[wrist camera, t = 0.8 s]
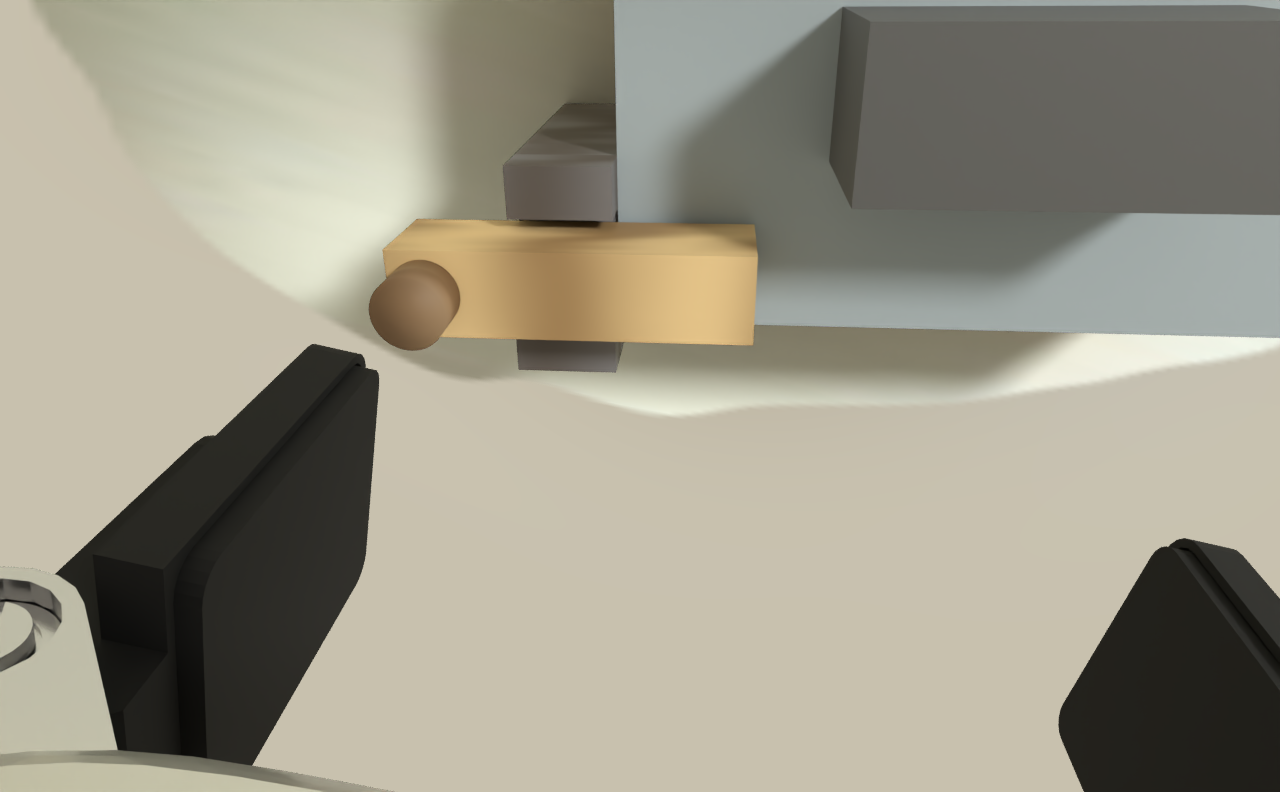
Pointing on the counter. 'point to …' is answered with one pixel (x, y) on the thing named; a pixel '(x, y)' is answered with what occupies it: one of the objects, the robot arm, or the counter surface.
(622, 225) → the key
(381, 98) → the counter surface
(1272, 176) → the lid
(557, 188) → the chest
